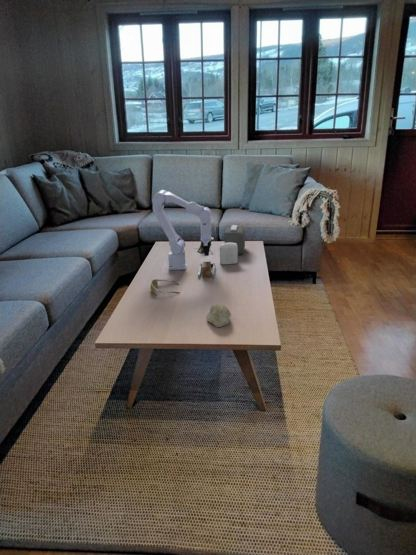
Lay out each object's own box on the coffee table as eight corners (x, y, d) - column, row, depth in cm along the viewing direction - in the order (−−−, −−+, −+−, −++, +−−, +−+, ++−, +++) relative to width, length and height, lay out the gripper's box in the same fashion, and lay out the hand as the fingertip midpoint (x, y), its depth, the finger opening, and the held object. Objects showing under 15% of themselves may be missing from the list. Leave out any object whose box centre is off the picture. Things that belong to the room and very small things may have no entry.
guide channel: (198, 278, 219) (198, 274, 219) (200, 266, 234) (199, 263, 233) (214, 277, 219) (214, 274, 218) (215, 266, 234) (215, 263, 233)
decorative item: (240, 314, 172) (222, 311, 166) (232, 332, 174) (214, 330, 168) (225, 300, 181) (207, 297, 175) (217, 317, 183) (199, 315, 177)
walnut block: (202, 277, 220) (201, 267, 218) (202, 271, 227) (202, 261, 225) (210, 277, 220) (210, 267, 217) (211, 271, 227) (210, 261, 225)
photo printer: (236, 261, 240) (236, 240, 235) (238, 263, 236) (238, 243, 232) (219, 262, 239) (218, 242, 234) (220, 265, 235) (220, 244, 230)
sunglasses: (150, 285, 214) (151, 276, 212) (179, 287, 215) (180, 278, 213) (149, 297, 200) (150, 287, 199) (180, 298, 202) (181, 289, 200)
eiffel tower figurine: (214, 255, 252) (213, 234, 247) (197, 257, 250) (196, 236, 245) (208, 247, 266) (207, 227, 261) (193, 249, 264) (191, 229, 259)
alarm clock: (227, 247, 264) (226, 223, 258) (245, 247, 263) (245, 223, 256) (224, 255, 249) (224, 231, 243) (243, 256, 248) (243, 231, 242)
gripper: (212, 234, 216) (213, 258, 222) (213, 226, 230) (214, 249, 235) (199, 234, 217) (200, 258, 222) (201, 226, 230) (202, 249, 235)
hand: (206, 254), depth 229 cm, fingers open, 4 cm apart
